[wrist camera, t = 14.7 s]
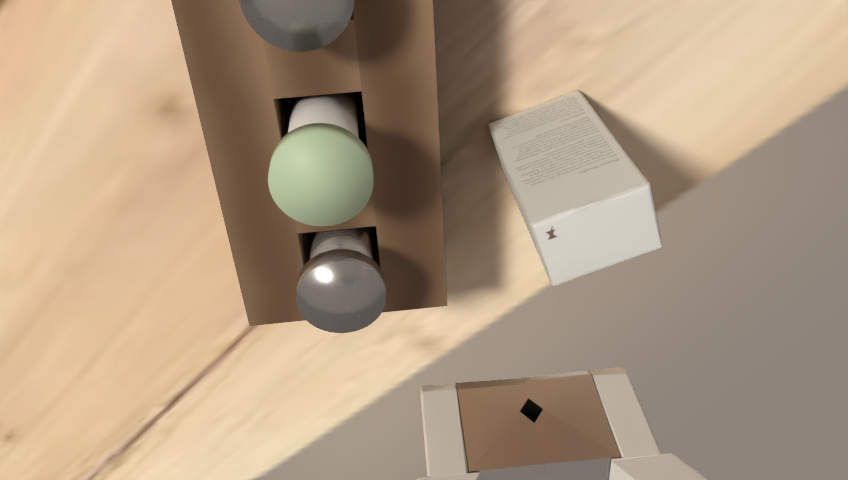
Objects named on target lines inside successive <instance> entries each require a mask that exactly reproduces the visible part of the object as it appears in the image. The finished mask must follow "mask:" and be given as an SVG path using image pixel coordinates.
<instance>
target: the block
mask: <svg viewBox="0 0 848 480" xmlns="http://www.w3.org/2000/svg"><path fill="white" fill-rule="evenodd" d="M171 1H172V5H173V9H174V13H175V18H176V22H177V26H178V30H179V34H180V38H181V43H182V47H183V51H184V55H185V59H186V63H187V67H188V72H189V76H190V80H191V84H192V88H193V92H194V97H195V101H196V105H197V109H198V113H199V117H200V122H201V126H202V130H203V134H204V138H205V142H206V147H207V151H208V155H209V159H210V163H211V167H212V171H213V176H214V180H215V184H216V188H217V192H218V196H219V201H220V205H221V209H222V213H223V217H224V221H225V226H226V230H227V234H228V238H229V242H230V246H231V251H232V255H233V259H234V263H235V267H236V271H237V275H238V280H239V284H240V288H241V292H242V296H243V300H244V305H245V309H246V313H247V317H248V321H249V325H250V326H253V325H263V324H273V323H283V322H292V321H302V320H306V319H305V318H304V317H303V316H302V314H301V313H300V311H299V309H298V306H297V302H296V293H297V281H298V276H299V274H300V271H301V269H302V268H303V266H304V265H305V264H306V263H307V262H308V261H309V260H310V251H311V232H318V231H329V230H339V229H349V228H360V227H370V226H376V230H377V234H376V235H371V242H372V258H373V260H374V261H375V262H376V263H377V264H378V266H379V267H380V268H381V270H382V272H383V275H384V279H385V289H386V303H385V306H384V309H383V311H382V312H390V311H400V310H410V309H420V308H430V307H439V306H447V289H446V268H445V247H444V226H443V204H442V183H441V162H440V141H439V120H438V98H437V77H436V56H435V35H434V13H433V0H354V8H353V12H352V15H351V18H350V21H349V23H348V24H347V26H346V28H345V29H344V31H343V32H342V33H341V34H340V35H339V36H338V37H337V38H336V39H335V40H334V41H332V42H331V43H329V44H328V45H326V46H324V47H322V48H319V49H316V50H312V51H306V52H296V51H289V50H284V49H281V48H278V47H276V46H274V45H272V44H270V43H268V42H267V41H265V40H264V39H263V38H261V37H260V36H259V35H258V34H257V33H256V32H255V31H254V30H253V29H252V27H251V26H250V25H249V23H248V22H247V20H246V18H245V16H244V14H243V12H242V9H241V6H240V2H239V0H171ZM359 91H362V99H363V109H364V118H365V123H361V124H358V138H359V139H360V140H361V141H362V142H363V143H364V145H365V146H366V148H367V150H368V152H369V154H370V157H371V160H372V167H373V190H372V194H371V197H370V199H369V201H368V202H367V204H366V206H365V207H364V208H363V209H362V210H361V211H360V212H359V213H358V214H357V215H356V216H354V217H353V218H351V219H349V220H348V221H345V222H343V223H340V224H337V225H332V226H312V225H307V224H304V223H301V222H298V221H296V220H294V219H292V218H291V217H289V216H288V215H286V214H285V213H284V212H283V211H282V210H281V209H280V208H279V207H278V206H277V204H276V203H275V201H274V200H273V198H272V196H271V193H270V190H269V185H268V173H269V167H270V162H271V156H272V154H273V151H274V149H275V147H276V145H277V144H278V142H279V141H280V140H281V139H282V138H283V137H284V136H285V135H286V134H287V133H288V128H289V121H290V115H291V111H290V105H289V99H288V98H290V97H302V96H313V95H325V94H336V93H348V92H359Z"/></svg>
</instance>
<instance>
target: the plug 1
mask: <svg viewBox="0 0 848 480" xmlns="http://www.w3.org/2000/svg"><path fill="white" fill-rule="evenodd" d="M239 2H240V6H241V9H242V12H243V14H244V16H245V18H246V20H247V22H248V23H249V25H250V26H251V27H252V29H253V30H254V31H255V32H256V33H257V34H258V35H259V36H260V37H261V38H263V39H264V40H265V41H267V42H268V43H270V44H272V45H274V46H276V47H278V48H281V49H284V50H289V51H296V52H306V51H312V50H316V49H319V48H322V47H324V46H326V45H328V44H329V43H331V42H332V41H334V40H335V39H336V38H337V37H338V36H339V35H340V34H341V33H342V32H343V31H344V29H345V28H346V26H347V24H348V23H349V21H350V18H351V15H352V12H353V8H354V0H239Z"/></svg>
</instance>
